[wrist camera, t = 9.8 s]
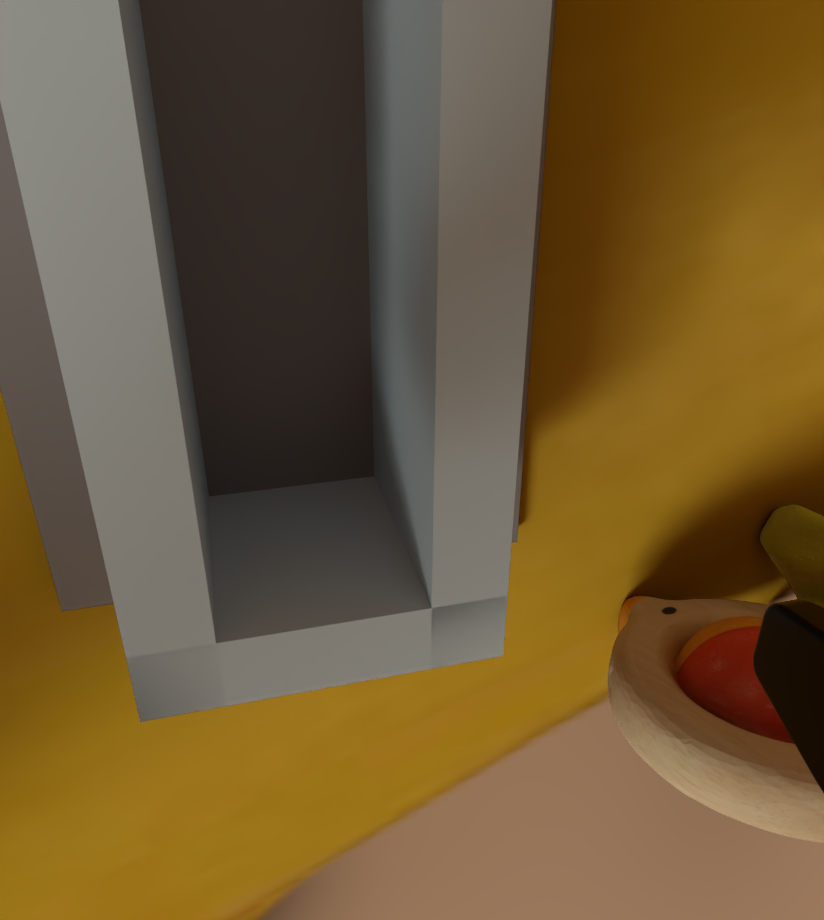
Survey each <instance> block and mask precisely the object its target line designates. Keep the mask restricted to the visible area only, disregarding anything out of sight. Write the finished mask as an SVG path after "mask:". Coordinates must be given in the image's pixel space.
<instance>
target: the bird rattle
mask: <svg viewBox="0 0 824 920" xmlns="http://www.w3.org/2000/svg"><path fill="white" fill-rule="evenodd" d="M760 542H761V544H762V546H763V547H764V549H765V550H766V552H767V553H768V555H769V557H770V558H771V560H772V561H773V563H774V564H775V566H776V567H777V568H778V570H779V571H780V573H781V574H782V576H783V577H784V578H785V579H786V580H787V582H788V583H789V585H790V586H791V588H792V590H793V591H794V593H795V595H796V597H797V599H803V600H807V601H810V602H813V603H815V604H817V605H820V606H822V607H824V516H822V515H820V514H818V513H816V512H814V511H812V510H809V509H807V508H805V507H803V506H799V505H787V506H782V507H780V508H777V509H776V510H775V511H773V513H772V514H771V516H770V517H769V519H768V521H767V522H766V524H765V525H764V527H763V529H762V532H761V535H760ZM769 606H770V605H767V604H761V603H754V602H747V601H738V600H727V599H686V600H665V599H659V598H654V597H648V596H635V597H631V598H629V599H627V600H626V601H625V602H624V604H623V605H622V607H621V610H620V613H619V619H618V632H619V634H618V636H617V638H616V641H615V643H614V646H613V650H612V654H611V659H610V664H609V672H608V690H609V698H610V704H611V708H612V711H613V714H614V717H615V719H616V721H617V724H618V725H619V727H620V729H621V731H622V733H623V735H624V737H625V738H626V739H627V741H628V742H629V744H630V745H631V746H632V747H633V749H634V750H635V751H636V752H637V753H638V754H639V755H640V757H641V758H642V759H643V760H644V761H645V762H646V763H647V764H649V765H650V766H651V767H652V768H653V769H654V770H655V771H656V772H657V773H658V774H659V775H660V776H662V777H663V778H664V779H665V780H667V781H668V782H669V783H670V784H672V785H673V786H675V787H676V788H677V789H678V790H680V791H681V792H683V793H684V794H686V795H687V796H689V797H691V798H693V799H694V800H696V801H698V802H700V803H702V804H704V805H705V806H707V807H709V808H711V809H713V810H716V811H717V812H719V813H722V814H724V815H726V816H729V817H731V818H734V819H736V820H738V821H741V822H743V823H746V824H749V825H752V826H755V827H758V828H761V829H763V830H766V831H770V832H773V833H777V834H780V835H785V836H788V837H792V838H796V839H801V840H807V841H814V842H820V843H824V793H823V791H822V790H821V788H820V787H819V785H818V783H817V782H816V780H815V778H814V777H813V775H812V773H811V772H810V770H809V768H808V766H807V765H806V763H805V761H804V759H803V758H802V756H801V754H800V752H799V751H798V749H797V747H796V745H795V744H794V742H793V740H792V738H791V737H790V735H789V733H788V731H787V729H786V728H785V726H784V724H783V722H782V721H781V719H780V717H779V715H778V714H777V712H776V710H775V708H774V707H773V705H772V703H771V701H770V700H769V698H768V696H767V694H766V693H765V691H764V689H763V687H762V686H761V684H760V682H759V680H758V678H757V676H756V674H755V671H754V666H753V653H754V650H755V646H756V642H757V638H758V635H759V631H760V627H761V624H762V620H763V616H764V613H765V611H766V609H767V608H768V607H769Z"/></svg>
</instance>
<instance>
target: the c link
mask: <svg viewBox="0 0 824 920" xmlns="http://www.w3.org/2000/svg"><path fill="white" fill-rule="evenodd" d="M551 9H552V0H363V38H364V79H365V120H366V162H367V203H368V244H369V285H370V326H371V367H372V408H373V449H374V476H373V477H364V478H356V479H348V480H340V481H332V482H324V483H315V484H307V485H299V486H291V487H283V488H275V489H266V490H258V491H250V492H242V493H234V494H226V495H217V496H209V493H208V486H207V479H206V472H205V465H204V458H203V451H202V443H201V436H200V429H199V422H198V415H197V408H196V401H195V394H194V387H193V380H192V373H191V366H190V359H189V352H188V344H187V337H186V330H185V323H184V316H183V309H182V302H181V295H180V288H179V281H178V274H177V267H176V260H175V253H174V245H173V238H172V231H171V224H170V217H169V210H168V203H167V196H166V189H165V182H164V175H163V168H162V161H161V154H160V146H159V139H158V132H157V125H156V118H155V111H154V104H153V97H152V90H151V83H150V76H149V69H148V62H147V55H146V47H145V40H144V33H143V26H142V19H141V12H140V5H139V0H0V102H1V106H2V111H3V115H4V120H5V124H6V129H7V133H8V137H9V142H10V146H11V151H12V155H13V160H14V164H15V168H16V173H17V177H18V182H19V186H20V191H21V195H22V199H23V204H24V208H25V213H26V217H27V222H28V226H29V230H30V235H31V239H32V244H33V248H34V253H35V257H36V261H37V266H38V270H39V275H40V279H41V284H42V288H43V292H44V297H45V301H46V306H47V310H48V315H49V319H50V323H51V328H52V332H53V337H54V341H55V346H56V350H57V354H58V359H59V363H60V368H61V372H62V377H63V381H64V385H65V390H66V394H67V399H68V403H69V408H70V412H71V416H72V421H73V425H74V430H75V434H76V439H77V443H78V447H79V452H80V456H81V461H82V465H83V470H84V474H85V478H86V483H87V487H88V492H89V496H90V501H91V505H92V509H93V514H94V518H95V523H96V527H97V532H98V536H99V540H100V545H101V549H102V554H103V558H104V563H105V567H106V571H107V576H108V580H109V585H110V589H111V594H112V598H113V602H114V607H115V611H116V616H117V620H118V625H119V629H120V633H121V638H122V642H123V647H124V651H125V656H126V660H127V664H128V669H129V673H130V678H131V682H132V687H133V691H134V695H135V700H136V704H137V709H138V713H139V718H140V722H142V721H147V720H153V719H158V718H164V717H169V716H175V715H180V714H186V713H191V712H197V711H202V710H208V709H213V708H219V707H224V706H230V705H235V704H241V703H246V702H252V701H257V700H263V699H268V698H274V697H279V696H285V695H290V694H296V693H301V692H307V691H312V690H318V689H323V688H329V687H334V686H340V685H345V684H351V683H357V682H362V681H368V680H373V679H379V678H384V677H390V676H395V675H401V674H406V673H412V672H417V671H423V670H428V669H434V668H439V667H445V666H450V665H456V664H461V663H467V662H472V661H478V660H483V659H489V658H494V657H500V656H503V650H504V637H505V623H506V610H507V597H508V583H509V570H510V556H511V543H512V530H513V516H514V503H515V490H516V476H517V463H518V450H519V436H520V423H521V410H522V396H523V383H524V369H525V356H526V343H527V329H528V316H529V303H530V289H531V276H532V263H533V249H534V236H535V223H536V209H537V196H538V182H539V169H540V156H541V142H542V129H543V116H544V102H545V89H546V76H547V62H548V49H549V36H550V22H551Z"/></svg>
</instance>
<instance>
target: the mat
mask: <svg viewBox="0 0 824 920" xmlns="http://www.w3.org/2000/svg"><path fill="white" fill-rule="evenodd" d="M139 5H140V12H141V19H142V26H143V33H144V40H145V47H146V55H147V62H148V69H149V76H150V83H151V90H152V97H153V104H154V111H155V118H156V125H157V132H158V139H159V146H160V154H161V161H162V168H163V175H164V182H165V189H166V196H167V203H168V210H169V217H170V224H171V231H172V238H173V245H174V253H175V260H176V267H177V274H178V281H179V288H180V295H181V302H182V309H183V316H184V323H185V330H186V337H187V344H188V352H189V359H190V366H191V373H192V380H193V387H194V394H195V401H196V408H197V415H198V422H199V429H200V436H201V443H202V451H203V458H204V465H205V472H206V479H207V486H208V493H209V496H217V495H226V494H234V493H242V492H250V491H258V490H266V489H275V488H283V487H291V486H299V485H307V484H315V483H324V482H332V481H340V480H348V479H356V478H364V477H373V476H374V449H373V408H372V367H371V326H370V285H369V244H368V203H367V162H366V120H365V79H364V38H363V0H139ZM555 10H556V0H552V9H551V22H550V36H549V49H548V62H547V76H546V89H545V102H544V116H543V129H542V142H541V156H540V169H539V182H538V196H537V209H536V223H535V236H534V249H533V263H532V276H531V289H530V303H529V316H528V329H527V343H526V356H525V369H524V383H523V396H522V410H521V423H520V436H519V450H518V463H517V476H516V490H515V503H514V516H513V530H512V543H513V542H517V535H518V521H519V508H520V494H521V480H522V466H523V452H524V438H525V425H526V411H527V397H528V383H529V369H530V356H531V342H532V328H533V314H534V300H535V287H536V273H537V259H538V245H539V231H540V217H541V204H542V190H543V176H544V162H545V148H546V135H547V121H548V107H549V93H550V79H551V65H552V52H553V38H554V24H555ZM0 389H1V392H2V396H3V399H4V403H5V407H6V410H7V414H8V418H9V421H10V425H11V428H12V432H13V436H14V439H15V443H16V447H17V450H18V454H19V458H20V461H21V465H22V468H23V472H24V476H25V479H26V483H27V487H28V490H29V494H30V498H31V501H32V505H33V508H34V512H35V516H36V519H37V523H38V527H39V530H40V534H41V537H42V541H43V545H44V548H45V552H46V556H47V559H48V563H49V567H50V570H51V574H52V577H53V581H54V585H55V588H56V592H57V596H58V599H59V603H60V606H61V610H62V611H68V610H75V609H81V608H88V607H94V606H101V605H107V604H114V602H113V598H112V594H111V589H110V585H109V580H108V576H107V571H106V567H105V563H104V558H103V554H102V549H101V545H100V540H99V536H98V532H97V527H96V523H95V518H94V514H93V509H92V505H91V501H90V496H89V492H88V487H87V483H86V478H85V474H84V470H83V465H82V461H81V456H80V452H79V447H78V443H77V439H76V434H75V430H74V425H73V421H72V416H71V412H70V408H69V403H68V399H67V394H66V390H65V385H64V381H63V377H62V372H61V368H60V363H59V359H58V354H57V350H56V346H55V341H54V337H53V332H52V328H51V323H50V319H49V315H48V310H47V306H46V301H45V297H44V292H43V288H42V284H41V279H40V275H39V270H38V266H37V261H36V257H35V253H34V248H33V244H32V239H31V235H30V230H29V226H28V222H27V217H26V213H25V208H24V204H23V199H22V195H21V191H20V186H19V182H18V177H17V173H16V168H15V164H14V160H13V155H12V151H11V146H10V142H9V137H8V133H7V129H6V124H5V120H4V115H3V111H2V106H1V102H0Z"/></svg>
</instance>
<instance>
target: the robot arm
mask: <svg viewBox="0 0 824 920" xmlns="http://www.w3.org/2000/svg"><path fill="white" fill-rule="evenodd" d="M753 666H754V671H755V674H756V676H757V678H758V680H759V682H760V684H761V686H762V687H763V689H764V691H765V693H766V694H767V696H768V698H769V700H770V701H771V703H772V705H773V707H774V708H775V710H776V712H777V714H778V715H779V717H780V719H781V721H782V722H783V724H784V726H785V728H786V729H787V731H788V733H789V735H790V737H791V738H792V740H793V742H794V744H795V745H796V747H797V749H798V751H799V752H800V754H801V756H802V758H803V759H804V761H805V763H806V765H807V766H808V768H809V770H810V772H811V773H812V775H813V777H814V778H815V780H816V782H817V783H818V785H819V787H820V788H821V790H822V791H823V793H824V607H822V606H820V605H817V604H815V603H813V602H810V601H807V600H803V599H796V600H790V601H785V602H779V603H774V604H772V605H770V606H769V607H768V608H767V609H766V611H765V613H764V616H763V620H762V624H761V627H760V631H759V635H758V638H757V642H756V646H755V650H754V653H753Z"/></svg>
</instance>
